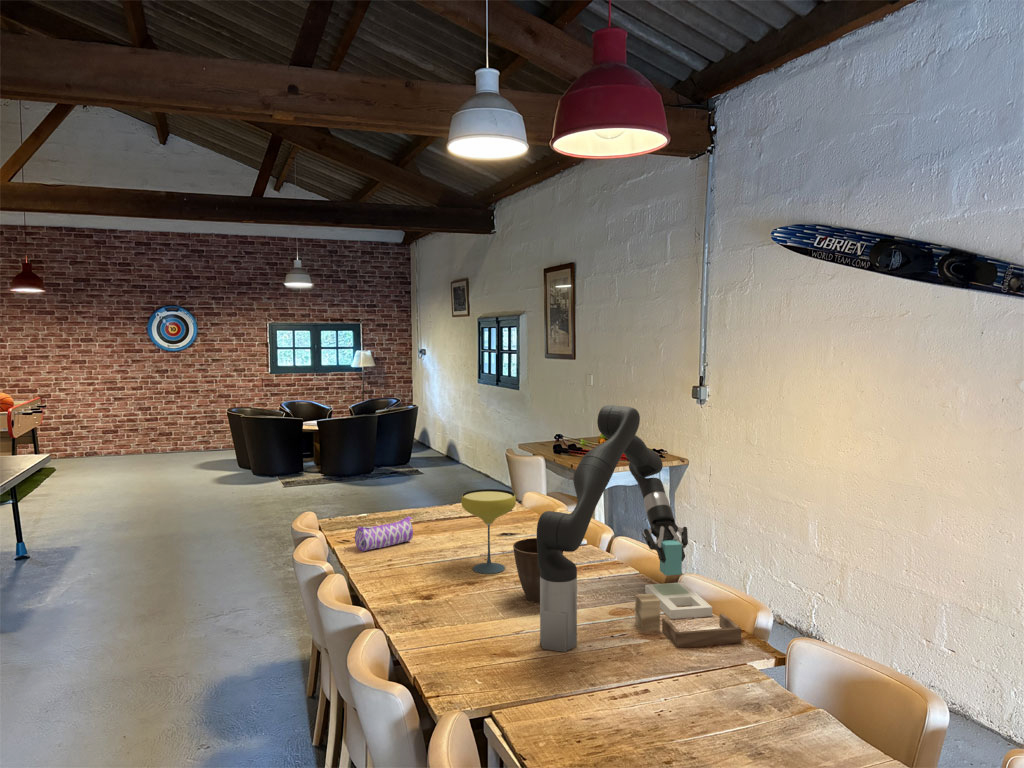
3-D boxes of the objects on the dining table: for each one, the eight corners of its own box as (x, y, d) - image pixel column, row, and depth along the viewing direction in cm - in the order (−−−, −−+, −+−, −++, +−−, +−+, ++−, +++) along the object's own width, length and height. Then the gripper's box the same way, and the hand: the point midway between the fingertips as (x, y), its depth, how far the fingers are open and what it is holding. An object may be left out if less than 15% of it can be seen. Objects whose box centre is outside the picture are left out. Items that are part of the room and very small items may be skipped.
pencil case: (362, 554, 249) (362, 528, 249) (351, 548, 256) (350, 523, 256) (416, 543, 263) (415, 518, 263) (403, 537, 270) (403, 513, 270)
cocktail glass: (518, 560, 241) (518, 489, 240) (513, 578, 223) (512, 501, 222) (466, 559, 243) (466, 488, 241) (457, 577, 225) (456, 500, 224)
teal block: (681, 574, 204) (682, 544, 204) (665, 575, 203) (665, 545, 203) (675, 569, 209) (675, 539, 208) (659, 570, 208) (659, 540, 207)
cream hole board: (712, 616, 192) (712, 606, 192) (670, 619, 191) (670, 609, 190) (683, 590, 212) (683, 581, 212) (645, 592, 210) (645, 584, 210)
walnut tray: (741, 642, 176) (741, 628, 176) (677, 647, 173) (677, 633, 173) (723, 626, 186) (723, 613, 185) (662, 630, 183) (662, 617, 183)
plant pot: (560, 609, 197) (560, 554, 196) (508, 606, 200) (508, 551, 199) (566, 591, 212) (566, 539, 211) (518, 587, 215) (518, 536, 214)
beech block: (659, 630, 183) (660, 600, 183) (641, 631, 183) (641, 601, 182) (652, 622, 188) (653, 593, 188) (635, 623, 188) (635, 594, 187)
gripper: (639, 504, 211) (653, 556, 200) (684, 502, 213) (700, 553, 202) (633, 517, 216) (646, 568, 205) (677, 515, 219) (692, 565, 208)
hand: (673, 560), depth 204 cm, fingers closed on teal block, 5 cm apart
